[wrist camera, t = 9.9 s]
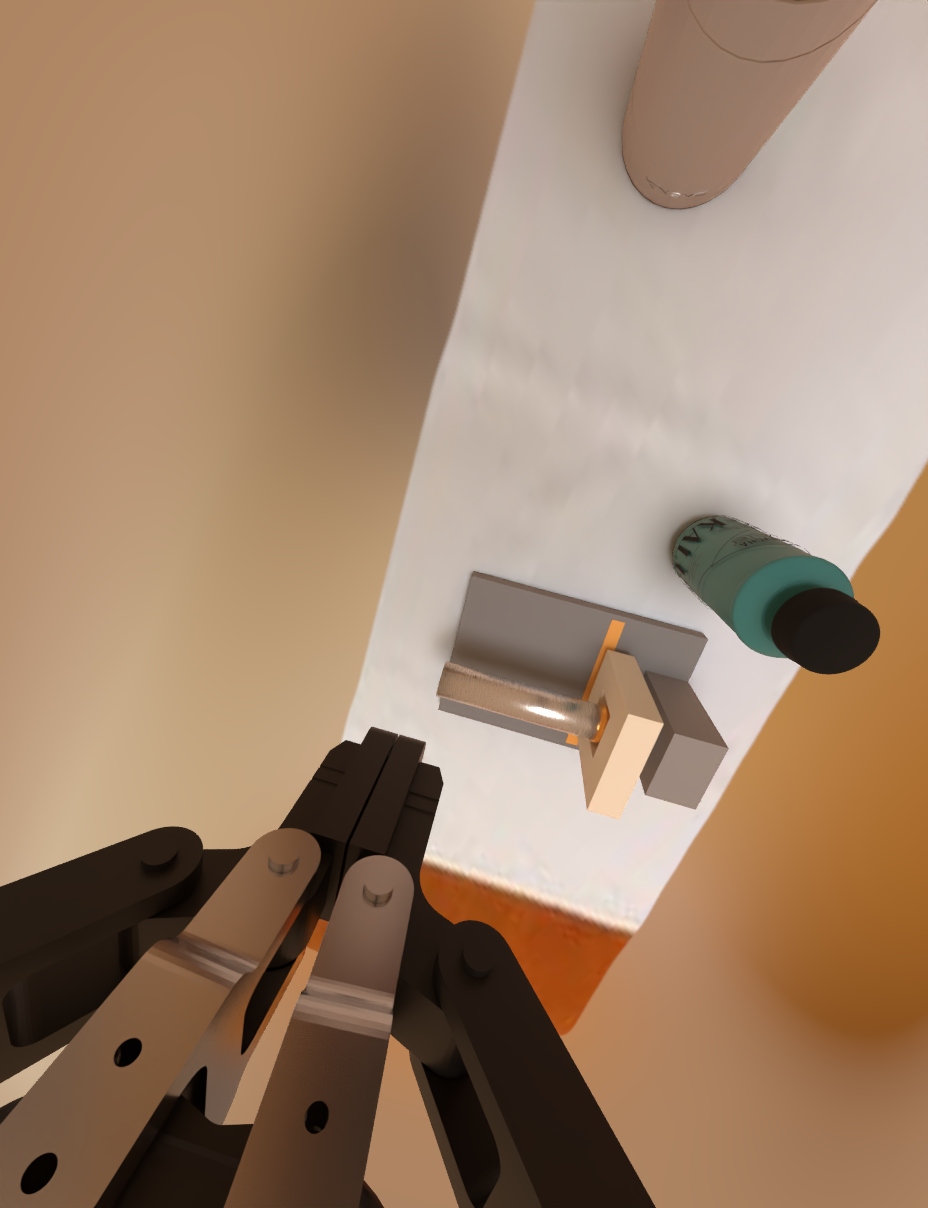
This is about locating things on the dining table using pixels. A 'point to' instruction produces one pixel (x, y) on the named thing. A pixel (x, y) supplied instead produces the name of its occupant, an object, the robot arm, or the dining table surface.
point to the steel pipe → (524, 702)
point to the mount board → (590, 672)
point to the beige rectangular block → (618, 735)
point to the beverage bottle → (776, 595)
